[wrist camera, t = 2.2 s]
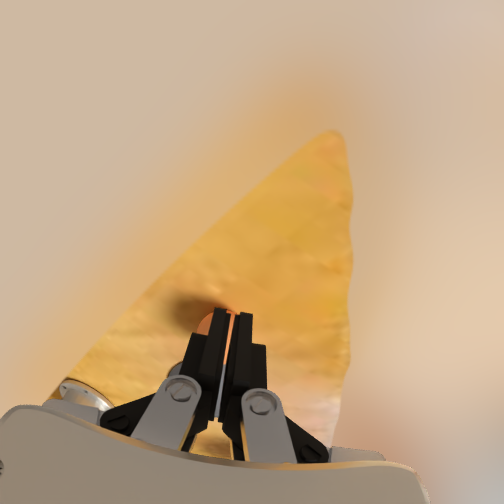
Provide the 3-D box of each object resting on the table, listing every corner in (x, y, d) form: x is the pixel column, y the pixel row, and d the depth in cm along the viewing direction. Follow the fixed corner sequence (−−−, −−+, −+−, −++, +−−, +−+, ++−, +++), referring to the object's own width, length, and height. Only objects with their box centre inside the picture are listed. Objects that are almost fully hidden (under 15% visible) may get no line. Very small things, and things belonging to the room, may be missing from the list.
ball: (240, 346, 30) (238, 381, 25) (195, 331, 29) (185, 364, 24) (259, 310, 28) (260, 344, 23) (210, 292, 27) (200, 323, 22)
